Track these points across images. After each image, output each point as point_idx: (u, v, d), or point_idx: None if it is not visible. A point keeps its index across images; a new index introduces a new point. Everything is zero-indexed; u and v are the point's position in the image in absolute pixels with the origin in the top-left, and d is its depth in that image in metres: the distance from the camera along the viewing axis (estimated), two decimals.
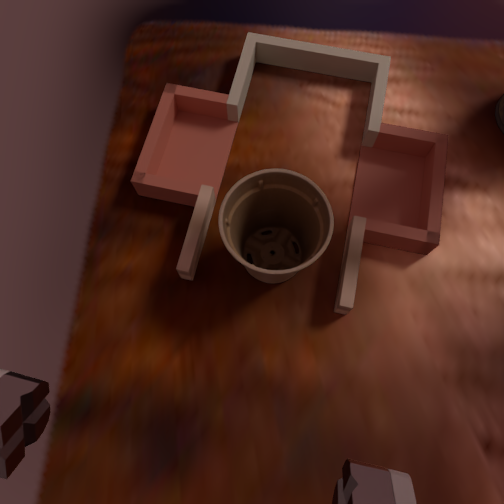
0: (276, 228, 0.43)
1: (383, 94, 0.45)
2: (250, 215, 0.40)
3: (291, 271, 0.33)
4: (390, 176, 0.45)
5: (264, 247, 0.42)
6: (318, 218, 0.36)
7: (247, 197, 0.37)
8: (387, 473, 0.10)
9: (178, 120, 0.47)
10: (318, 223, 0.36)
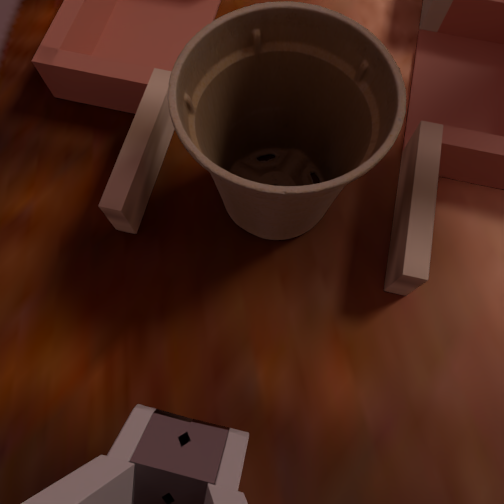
0: (283, 150, 0.26)
1: None
2: (237, 116, 0.22)
3: (320, 188, 0.15)
4: (469, 74, 0.27)
5: (262, 180, 0.24)
6: (367, 103, 0.19)
7: (231, 68, 0.20)
8: (225, 431, 0.10)
9: None
10: (367, 113, 0.19)
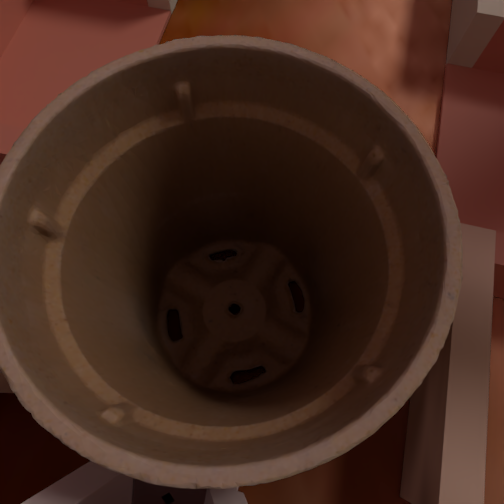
0: (249, 243, 0.17)
1: None
2: (169, 208, 0.14)
3: (275, 475, 0.07)
4: None
5: (214, 294, 0.16)
6: (380, 220, 0.10)
7: (143, 145, 0.11)
8: None
9: (37, 5, 0.21)
10: (379, 238, 0.10)
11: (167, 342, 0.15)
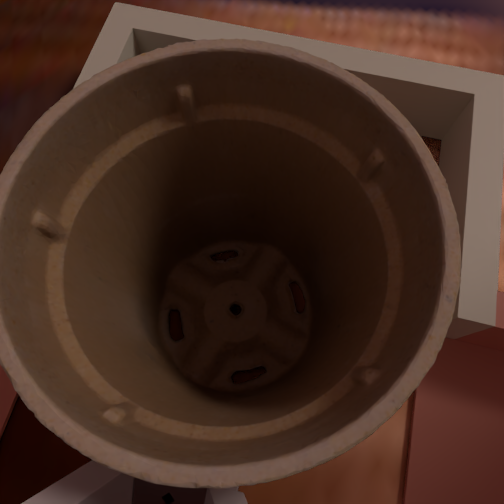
0: (251, 243, 0.17)
1: (496, 191, 0.15)
2: (170, 209, 0.14)
3: (274, 474, 0.07)
4: None
5: (216, 294, 0.16)
6: (380, 223, 0.10)
7: (145, 147, 0.11)
8: None
9: None
10: (379, 240, 0.10)
11: (168, 342, 0.16)
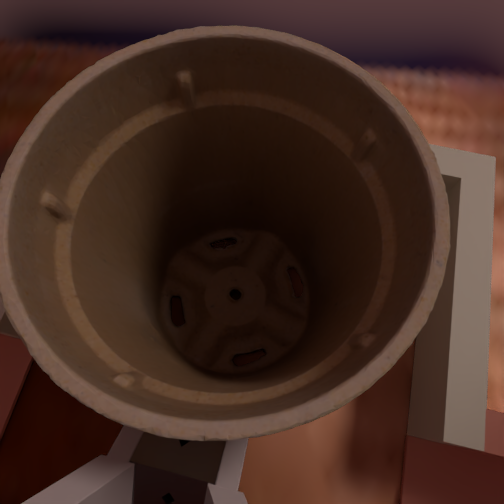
0: (249, 231, 0.18)
1: (484, 291, 0.14)
2: (171, 196, 0.14)
3: (277, 427, 0.07)
4: None
5: (216, 281, 0.17)
6: (374, 200, 0.11)
7: (146, 133, 0.12)
8: None
9: None
10: (373, 217, 0.11)
11: (170, 327, 0.16)
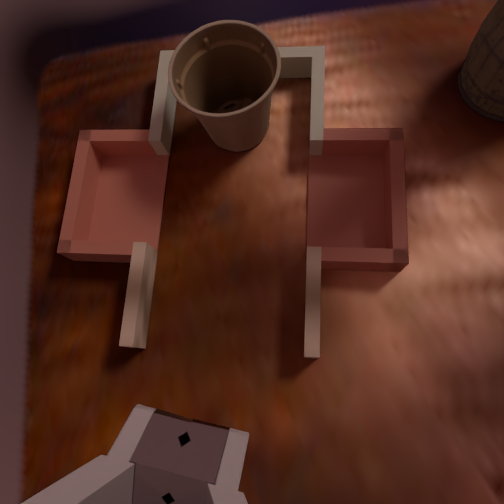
0: (239, 100, 0.43)
1: (322, 93, 0.39)
2: (207, 85, 0.40)
3: (245, 110, 0.33)
4: (346, 186, 0.39)
5: None
6: (268, 64, 0.36)
7: (197, 61, 0.37)
8: (225, 430, 0.10)
9: (103, 167, 0.43)
10: (269, 69, 0.36)
11: None
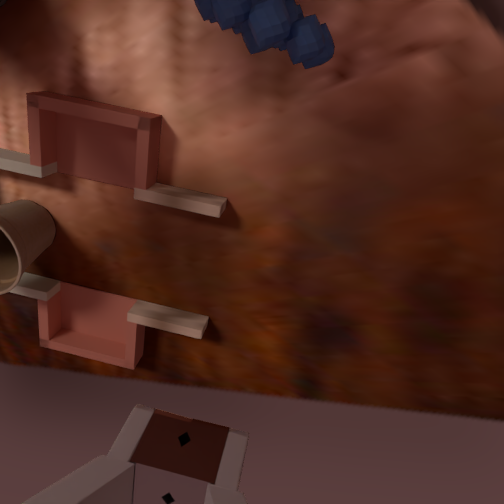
0: None
1: None
2: None
3: (14, 244, 0.40)
4: (84, 145, 0.44)
5: None
6: None
7: None
8: (225, 430, 0.10)
9: (71, 328, 0.54)
10: None
11: None
